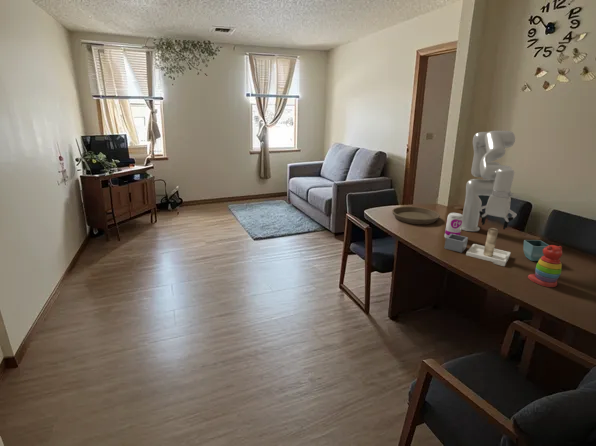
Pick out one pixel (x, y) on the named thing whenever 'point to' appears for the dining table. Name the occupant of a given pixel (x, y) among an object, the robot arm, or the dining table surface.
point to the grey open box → (456, 242)
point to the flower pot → (534, 249)
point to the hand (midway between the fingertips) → (493, 226)
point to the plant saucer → (415, 215)
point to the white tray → (497, 258)
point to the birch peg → (490, 242)
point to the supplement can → (453, 224)
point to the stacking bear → (548, 267)
